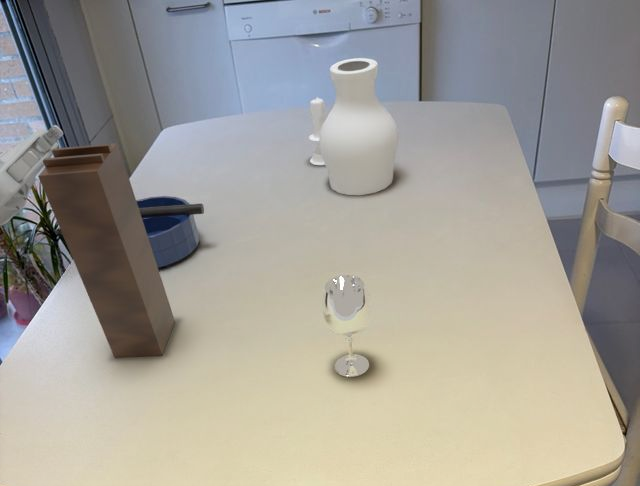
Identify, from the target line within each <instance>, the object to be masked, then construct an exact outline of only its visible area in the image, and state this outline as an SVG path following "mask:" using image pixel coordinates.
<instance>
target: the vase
mask: <svg viewBox="0 0 640 486" xmlns="http://www.w3.org/2000/svg"><path fill="white" fill-rule="evenodd" d="M378 72H379V63H378V62H377V61H376V59H372V58H367V57H366V58H365V57H357V58H355V57H354V58H348V59H344V60H340V61H337V62H335V63H334V64H332V65H331V66H330V67H329V75H330V79H331V82H332V84H333V87H334V89H335V95H336V96H335V101H334V105H333V107H332V109H331V110H330V112H329V114H328V115H327V116H326V119H325V122H324V123H323V126H322V128H321V131H320V136H319V144H320V150H321V154H322V157H323V160H324V163H325V165H324V166H325V168H326V172H327V175H328V179H329V180H328V181H329V186H330V188H331V189H332V190H333V191H334V192H336V193H338V194H342V195H347V196H364V195H365V196H366V195H370V194H375V193H378V192H379V191H382V190H385V189H386V188H388V187H389V186H390V185H391V184H392V183H393V180H394V169H395V168H394V167H395V162H396V156H397V151H398V146H399V130H398V126H397V124H396V121H395V119H394V118H393V116H392V115H391V114H390V112H389V111H388V110H387V109H386V108H385V106H383V104H382V103H381V102H380V101H379V99H378V97H377V95H376V91H375V89H376V88H375V85H376V80H377V77H378Z"/></svg>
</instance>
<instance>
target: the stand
mask: <svg viewBox="0 0 640 486" xmlns="http://www.w3.org/2000/svg"><path fill="white" fill-rule="evenodd" d="M120 149H121V148H120V147H119V143H118V142H113V143H102V144H101V143H100V144H89V145H80V146H79V145H77V146H68V147H57V148H56V149H53V150H52V153H53V155H52V156H53V157H50V158H45V159H44V160H43V162H44V169H43V170H42V171H40V172H39V173H38V176H37V178H38V179H39V182H40V184H41V187H42V189H43V192H44V193H45V196H46V198H47V201H48V203H49V206H50V208H51V210H52V213H53V215H54V218H55V220H56V222H57V224H58V227H59V229H60V232H61V234H62V236H63V239H64V241H65V245H66V246H67V248H68V250H69V253H70V255H71V258H72V260H73V262H74V265H75V268H76V269H77V272H78V274H79V277H80V279H81V282H82V284H83V286H84V289H85V291H86V293H87V296H88V298H89V299H90V303H91V305H92V308H93V310H94V313H95V314H96V317H97V319H98V322H99V324H100V327H101V329H102V331H103V334H104V336H105V339H106V341H107V343H108V346H109V348H110V350H111V352H112V355H113V358H132V357H133V358H134V357H135V358H136V357H156V356H163V354H164V351H165V350H166V346H167V344H168V342H169V338H170V337H171V334H172V331H173V328H174V327H175V326H174V325H175V323H176V320H175V317H174V314H173V311H172V307H171V304H170V301H169V298H168V295H167V291H166V289H165V286H164V283H163V280H162V277H161V273H160V271H159V267H157V264H156V261H155V258H154V254H153V251H152V248H151V245H150V242H149V239H148V236H147V233H146V230H145V226H144V223H143V220H142V217H141V214H140V211H139V208H138V205H137V202H136V200H137V198H136V196H135V193H134V189H133V186H132V184H131V179H130V177H129V174H128V171H127V168H126V165H125V161H124V158H123V155H122V152H121V150H120Z"/></svg>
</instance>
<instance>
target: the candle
mask: <svg viewBox="0 0 640 486" xmlns="http://www.w3.org/2000/svg"><path fill="white" fill-rule="evenodd" d="M309 106H310V107H309V108H310V111H309V112H310V115H311V121H312V129H313V133H312V134H310V135H308V136H309V137H308V139H309V140H310V141H312V142H314V143H316V146H315V150H314V151H313V153H312V157H311V158H310V160H309V163H310V164H311V165H314V166H325V163H324V160H323V157H322V154H321V150H320V144H319V136H320V131H321V128H322V126H323V123H324V122H325V120H326V118H327V112H326V106H325V101H324V99H322V98H320V97H316V98H315V99H312V100H310V103H309Z"/></svg>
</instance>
